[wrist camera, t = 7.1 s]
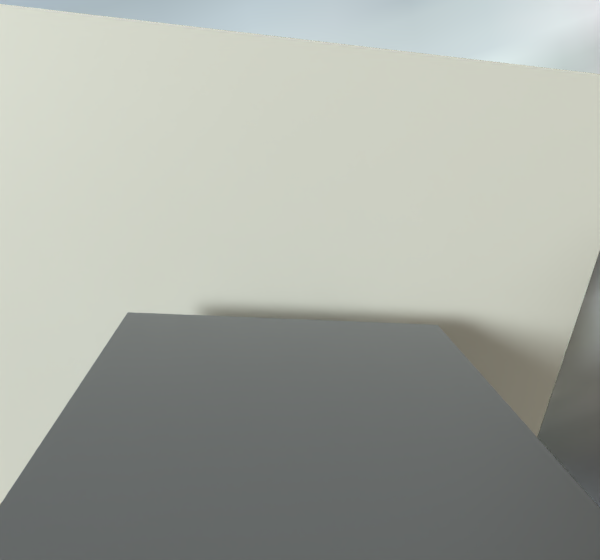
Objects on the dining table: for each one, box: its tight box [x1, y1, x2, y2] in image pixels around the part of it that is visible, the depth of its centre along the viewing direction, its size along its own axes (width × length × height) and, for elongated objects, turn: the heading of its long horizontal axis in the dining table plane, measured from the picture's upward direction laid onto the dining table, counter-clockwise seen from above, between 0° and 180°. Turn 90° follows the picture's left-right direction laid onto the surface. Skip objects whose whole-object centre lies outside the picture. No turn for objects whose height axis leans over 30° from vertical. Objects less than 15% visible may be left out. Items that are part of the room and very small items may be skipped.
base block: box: [0, 4, 600, 504], centre depth 12 cm, size 16×14×3 cm
